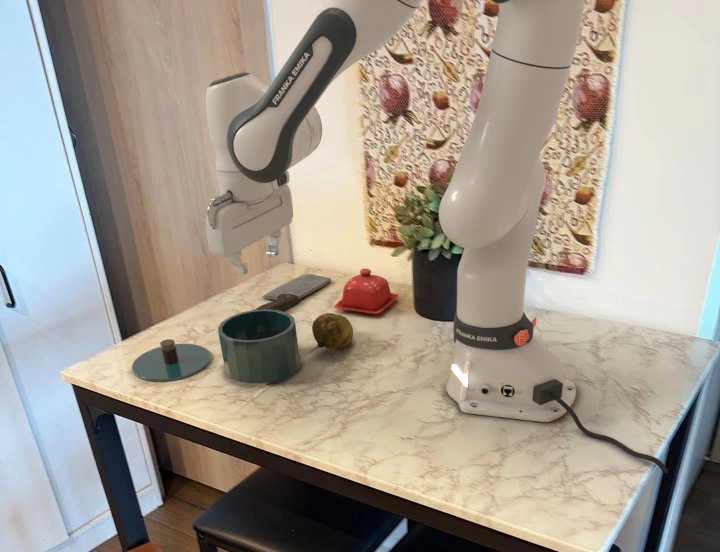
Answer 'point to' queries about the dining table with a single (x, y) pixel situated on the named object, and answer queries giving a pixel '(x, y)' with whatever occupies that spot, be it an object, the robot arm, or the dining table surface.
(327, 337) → the potato
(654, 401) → the dining table surface
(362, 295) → the butter dish
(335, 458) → the dining table surface
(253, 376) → the pot
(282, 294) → the cleaver
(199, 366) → the lid
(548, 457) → the dining table surface
